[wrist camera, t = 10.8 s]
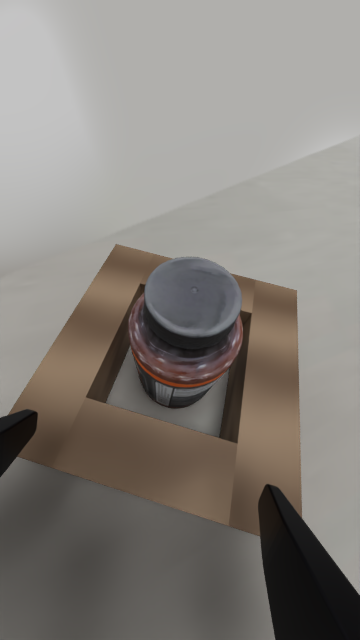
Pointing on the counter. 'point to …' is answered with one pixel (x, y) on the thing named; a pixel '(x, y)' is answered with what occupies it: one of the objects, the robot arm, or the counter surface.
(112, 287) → the walnut well
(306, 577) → the robot arm
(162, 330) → the supplement bottle
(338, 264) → the counter surface
